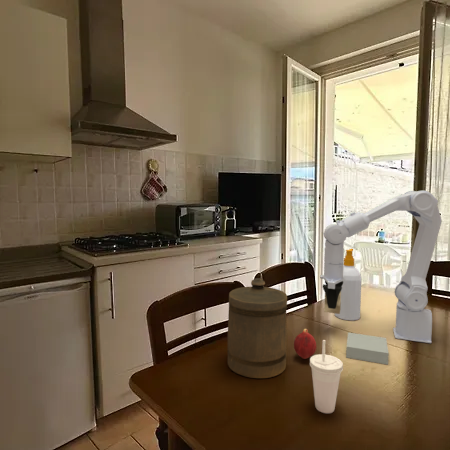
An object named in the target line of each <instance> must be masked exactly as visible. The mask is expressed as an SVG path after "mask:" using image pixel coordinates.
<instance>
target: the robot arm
mask: <svg viewBox="0 0 450 450" xmlns="http://www.w3.org/2000/svg"><path fill="white" fill-rule="evenodd" d="M438 205H439V200H438V198H437V197H435V195H433V193H431V192H430V191H429V190H418V191H417V190H416V191H415V190H408V191H406V192H404V193H403V194H402V193H401V194H399V195H395V196H394V197H392V198H390V199H388V200H387V201H385V202H384V201H383V203H381V204H379V205H377V206H375V207H373V208H371V209H369V210H368V211H366V212H361V211H357V212H355V211H352V212H350V213H349V215H348V216H347V217H345V218H342V219H341V220H339V219H337V220H336V221H335V223H336V224H334V223H332V224H328V226H325V229H324V232H323V237H324V239H325V240H324V242H325V243H324V255H323V257H324V259H323V260H324V262H323V265H324V266H323V275H322V274H320V276H319V278H320V280H321V279H322V280H323V281H324V283H325V284H322V290H323V291H324V295H325V294H326V298H327V304H328V308H333V309H335V308H336V305H337V300H338V296H339V293H340V291H341V290H342V287H341V286H342V285H343V280H344V277H343V266H344V258H345V255H344V254H345V253H344V252H345V249H344V243H345V242H346V240H347V238H350V237H352V236H355V235H356V234H359V233H360V232H363V231H365V230H367V229H369V227H370V224H371V223H372V222H374V221H376V220H379V219H381V218H383V217H385V216H387V215H390V214H392V213H394V212H397V211H398V212H399V211H401V212H403V211H404V212H407V213H409V214H411V215H412V216H413V217H414V219H415V220H416V221H417V223H418V229H417V232H416V237H415V239H414V244H413V246H412V250H411V254H410V257H409V261H408V264H407V269H406V272H405V274H403V276H402V277H401V278H400V281H399V283H398V284H397V285H396V286H395V288H394V296H395V298H396V299H397V302H396V310H395V311H396V312H395V313H396V315H395V327H393V328H392V331H393V335H394V338H395V339H397V340H398V339H399V340H406V341H413V342H419V343H427V344H432V335H433V334H432V331H433V313H432V310H431V309H428V308H426V306H427V305H428V302H429V301H428V300H429V299H428V295H427V294H428V293H427V292H428V285H427V281H426V278H427V276H428V275H427V274H428V271H429V268H430V264H431V261H432V257H433V253H434V250H435V247H436V243H437V240H438V236H439V233H440V229H441V226H442V222H443V221H442V220H443V219H442V217H441V213H440V210H439V207H438Z"/></svg>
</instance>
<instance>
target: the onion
mask: <svg viewBox="0 0 450 450" xmlns="http://www.w3.org/2000/svg"><path fill="white" fill-rule="evenodd" d="M308 330H309V329H307V328H304V329H303V331H302V332H301V333H300V332H299V334H298V335H296V337H295V338H294V341H293V349H294V351H295V353H296V354H297V355H298V356H299V357H300V358H301V359H302V360H307V359H308V358H309V359H310V358H311V357H312V356H314V355H315V353H316V351H317V346H318V345H317V342H316V340H315V338H314V336H313V335H312V334H311V333H309V331H308Z"/></svg>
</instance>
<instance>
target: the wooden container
mask: <svg viewBox="0 0 450 450" xmlns="http://www.w3.org/2000/svg"><path fill="white" fill-rule="evenodd" d="M250 284H251V286H243V287H242V286H241V287H237V288H235V289H232V290H231V291H230V292H229V293H228V316H227V317H228V319H227V320H228V322H227V366H228V367H229V369H230V370H231V371H233V372H234V373H235V374H238V375H240V376H243V377H246V378H251V379H268V378H269V379H270V378H272V377H276V376H279V375H280V374H282V373H283V372H285V370H286V368H287V341H288V340H287V337H288V336H287V335H288V334H287V309H288V308H287V307H288V295H287V293H286V292H284V291H282V290H281V289H278V288H273V287H270V286H269V287H267V286H265V285H266V281H265V280H264V279H262V278H261V277H259V278H258V277H256V278H254V279H252V280H251V282H250Z"/></svg>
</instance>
